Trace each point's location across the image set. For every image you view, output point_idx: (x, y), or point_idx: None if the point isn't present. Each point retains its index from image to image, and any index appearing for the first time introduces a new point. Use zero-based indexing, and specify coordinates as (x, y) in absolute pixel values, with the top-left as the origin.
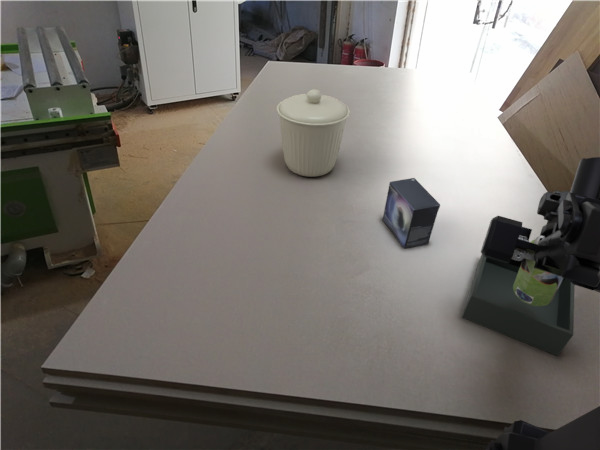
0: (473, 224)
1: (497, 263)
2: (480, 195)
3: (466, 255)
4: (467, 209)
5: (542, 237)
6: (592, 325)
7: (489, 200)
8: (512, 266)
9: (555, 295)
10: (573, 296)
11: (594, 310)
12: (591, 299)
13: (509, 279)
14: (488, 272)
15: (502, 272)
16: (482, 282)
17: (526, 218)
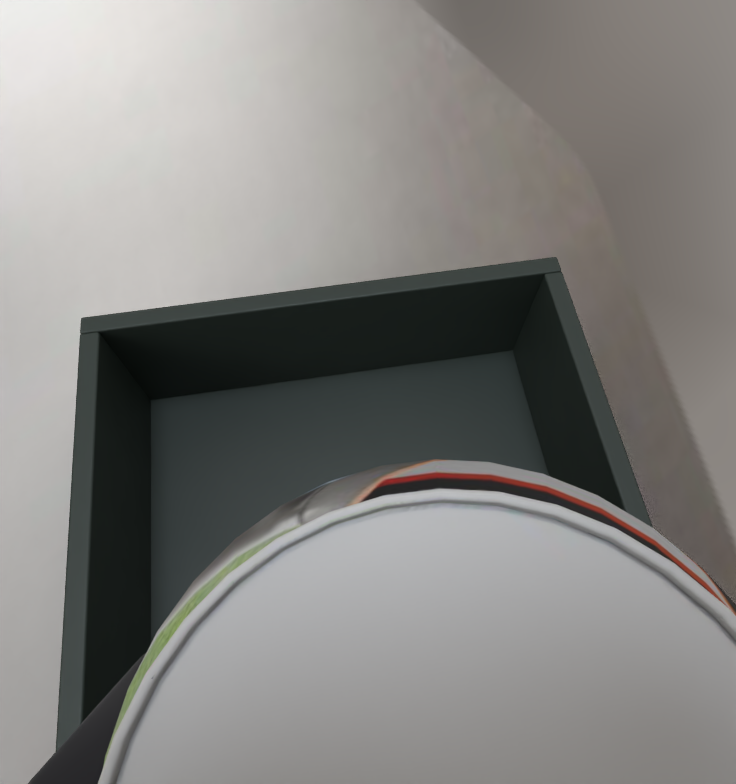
0: (70, 180)
1: (218, 384)
2: (69, 4)
3: (73, 403)
4: (28, 107)
5: (213, 691)
6: (705, 488)
7: (111, 13)
8: (286, 368)
9: (515, 415)
10: (639, 500)
11: (674, 386)
12: (639, 328)
13: (301, 449)
14: (194, 469)
15: (259, 421)
16: (181, 569)
17: (274, 32)
